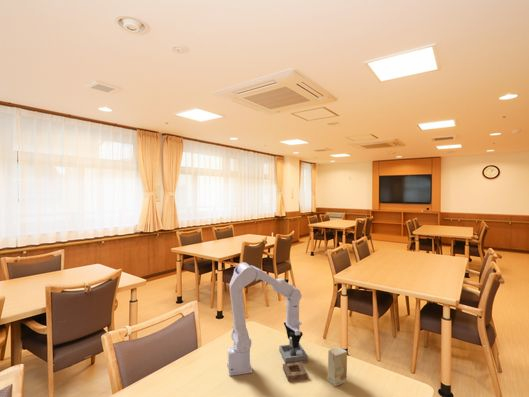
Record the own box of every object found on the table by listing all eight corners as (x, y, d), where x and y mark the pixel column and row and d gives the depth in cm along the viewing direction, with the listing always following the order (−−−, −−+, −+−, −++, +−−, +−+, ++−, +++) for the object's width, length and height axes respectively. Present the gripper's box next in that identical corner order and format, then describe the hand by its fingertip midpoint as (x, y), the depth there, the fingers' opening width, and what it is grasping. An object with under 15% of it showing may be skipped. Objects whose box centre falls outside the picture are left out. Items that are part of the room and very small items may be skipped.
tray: (285, 363, 123) (285, 358, 123) (279, 350, 132) (279, 345, 132) (307, 360, 125) (307, 355, 125) (299, 348, 135) (299, 343, 134)
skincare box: (334, 387, 108) (334, 355, 108) (327, 380, 112) (327, 350, 112) (347, 381, 111) (347, 351, 111) (339, 375, 115) (339, 345, 114)
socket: (288, 381, 112) (288, 376, 111) (282, 368, 119) (282, 364, 119) (307, 378, 113) (307, 373, 113) (300, 366, 121) (300, 361, 121)
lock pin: (290, 357, 127) (290, 339, 126) (288, 353, 130) (288, 336, 129) (297, 356, 127) (296, 338, 127) (295, 352, 130) (294, 335, 130)
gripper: (306, 319, 122) (306, 350, 122) (296, 306, 136) (296, 333, 136) (291, 321, 120) (291, 352, 121) (281, 307, 134) (282, 335, 135)
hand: (292, 342), depth 128 cm, fingers open, 7 cm apart
